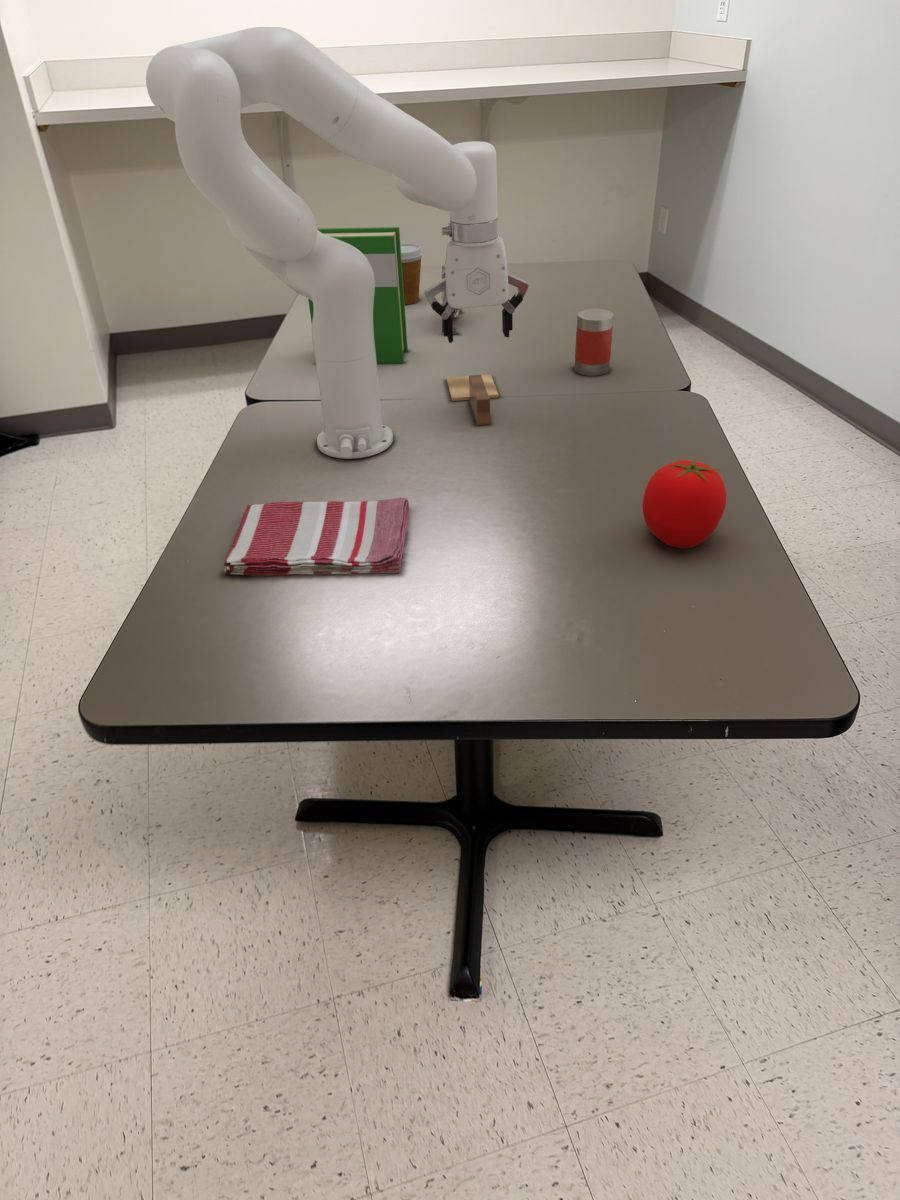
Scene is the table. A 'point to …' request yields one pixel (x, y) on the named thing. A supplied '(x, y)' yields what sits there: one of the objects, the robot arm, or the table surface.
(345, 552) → the dish towel
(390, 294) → the hardback book
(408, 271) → the disposable coffee cup
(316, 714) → the table surface
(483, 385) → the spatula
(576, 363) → the tin can
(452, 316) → the meal
